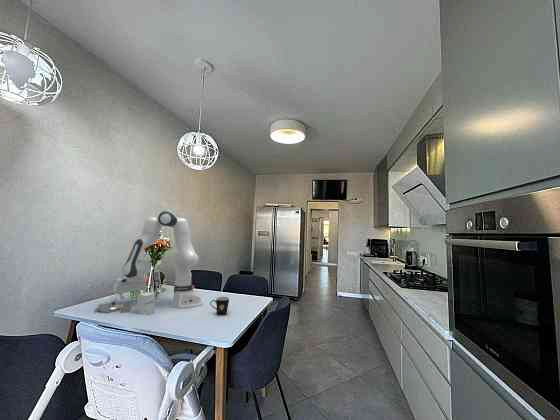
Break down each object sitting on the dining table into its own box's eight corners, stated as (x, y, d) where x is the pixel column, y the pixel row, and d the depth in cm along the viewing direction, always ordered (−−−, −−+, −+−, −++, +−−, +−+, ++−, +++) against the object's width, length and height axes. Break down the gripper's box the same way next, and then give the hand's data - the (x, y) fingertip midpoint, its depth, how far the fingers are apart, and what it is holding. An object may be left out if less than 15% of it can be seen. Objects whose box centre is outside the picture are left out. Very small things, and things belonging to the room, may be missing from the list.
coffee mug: (230, 312, 160) (231, 297, 161) (223, 316, 152) (224, 301, 153) (216, 310, 164) (217, 295, 165) (208, 314, 156) (209, 298, 157)
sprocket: (127, 304, 164) (127, 297, 165) (121, 312, 149) (122, 304, 150) (100, 305, 159) (101, 298, 159) (92, 314, 143) (93, 306, 144)
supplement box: (143, 316, 147) (145, 295, 148) (135, 314, 150) (137, 294, 151) (153, 313, 154) (155, 293, 155) (145, 311, 156) (147, 291, 158)
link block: (130, 312, 153) (131, 305, 153) (129, 314, 150) (130, 307, 150) (121, 313, 151) (122, 305, 151) (120, 315, 148) (121, 307, 148)
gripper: (144, 275, 179) (143, 294, 178) (113, 279, 163) (111, 299, 162) (148, 277, 175) (146, 296, 174) (117, 280, 159) (114, 301, 158)
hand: (129, 297), depth 168 cm, fingers open, 8 cm apart
